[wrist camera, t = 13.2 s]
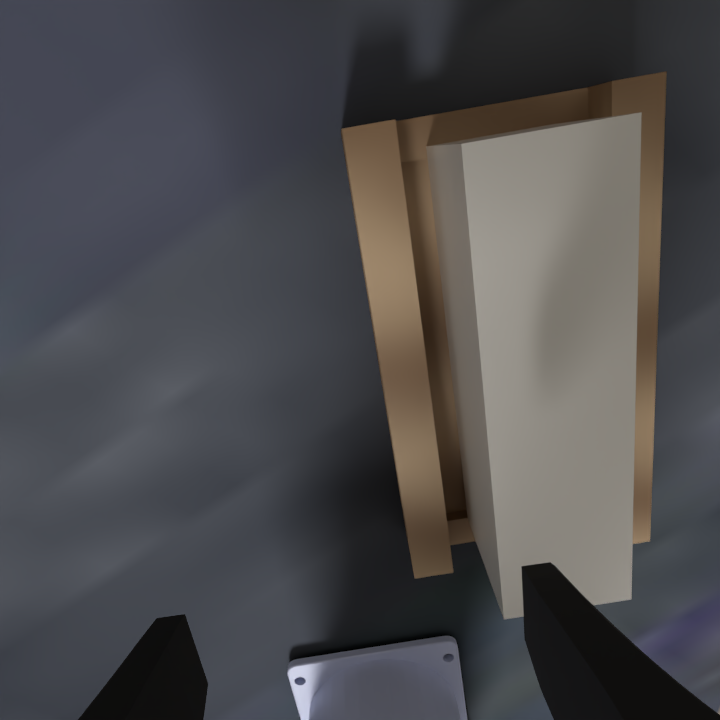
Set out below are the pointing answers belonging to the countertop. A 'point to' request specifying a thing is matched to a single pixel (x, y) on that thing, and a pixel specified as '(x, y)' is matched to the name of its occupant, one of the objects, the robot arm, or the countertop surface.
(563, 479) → the light grey rectangular block
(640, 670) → the robot arm
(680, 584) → the countertop surface
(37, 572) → the countertop surface
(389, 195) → the oak rack
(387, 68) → the countertop surface
